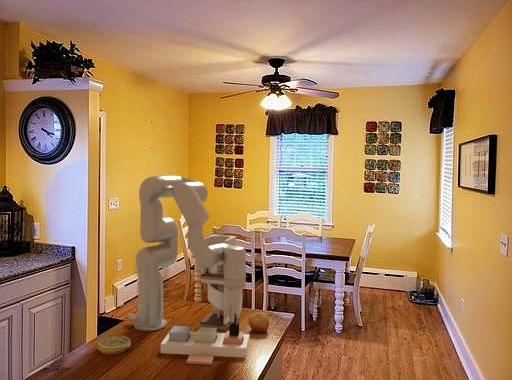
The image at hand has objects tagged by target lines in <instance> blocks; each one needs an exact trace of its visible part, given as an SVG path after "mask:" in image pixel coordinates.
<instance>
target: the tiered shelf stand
mask: <svg viewBox="0 0 512 380" xmlns="http://www.w3.org/2000/svg"><path fill="white" fill-rule="evenodd" d="M204 239H205V241H206V243H207V245H208V246H209V245H214V244H218V243H225V244H228V245H231V246H237V235H223V234H211V235H208V236H206V237H204ZM200 283H203V284H205V283H206V284H207V300H208V302H209V303H210V304H211V306H212V312H210V313H209V314H207V315H206V316H205V317H204V318H203V319H202V320H200V321H199V322H200V324H199V326H200V327H206V328H217V330H223V331H225V330H226V331H227V329H228V328H229V327H230V314H229V316H228V317H227V318H226V317H225V299H226V288H224V264H223V265H218V266H215V267H212V268H203V267H201V266H200ZM200 327H199V328H200Z"/></svg>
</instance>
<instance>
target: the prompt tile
mask: <svg viewBox="0 0 512 380" xmlns="http://www.w3.org/2000/svg"><path fill="white" fill-rule="evenodd" d="M214 359H215V356H212V355H193V354H190V355H188V358H187V359H186V364H187V365H190V364H191V365H208V366H209V365H210V366H211V365H212V363H213V362H214Z"/></svg>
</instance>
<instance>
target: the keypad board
mask: <svg viewBox="0 0 512 380" xmlns="http://www.w3.org/2000/svg"><path fill="white" fill-rule="evenodd" d="M197 332H198V331H191V330H190V337H189V338H188V340H187V342H178V341H169V332H168V333H167V334H166V336H165V337H164V339H163V340H162V342H161V343H160V354H170V355H171V354H172V355H174V354H175V355H188V356H190V354H193V355H212V356H214V357H225V358H226V357H229V358H245V359H246V358H247V355H248V351H249V347H250V337H251V336H250V333H243V343H242V345H236V344H224V336H225V333H226V332H217V337H216V339H215V341H214V343H197V342H196V333H197Z"/></svg>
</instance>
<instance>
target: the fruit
mask: <svg viewBox="0 0 512 380" xmlns="http://www.w3.org/2000/svg"><path fill="white" fill-rule="evenodd" d="M247 322H248V325H249V327H250V329H251V330H252V332H253V333H265V332H267V331H268V329H269V326H270V317H269V316H268V315H267V314H266V313H265V312H263V311H258V312H254V313H252V314H251V315H250V316H249V317H248V321H247Z"/></svg>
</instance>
